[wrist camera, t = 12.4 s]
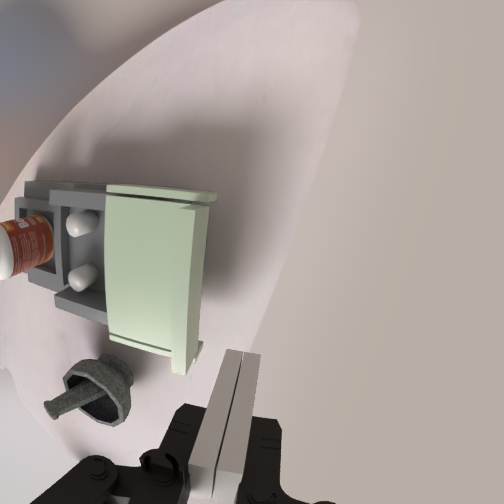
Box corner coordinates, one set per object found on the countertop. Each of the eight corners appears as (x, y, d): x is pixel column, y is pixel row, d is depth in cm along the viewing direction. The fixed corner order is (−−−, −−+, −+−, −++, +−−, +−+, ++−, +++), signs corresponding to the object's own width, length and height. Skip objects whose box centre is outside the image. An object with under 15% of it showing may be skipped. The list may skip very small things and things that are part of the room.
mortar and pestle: (133, 347, 33) (85, 404, 21) (152, 400, 35) (119, 458, 23) (73, 341, 34) (24, 383, 22) (94, 389, 36) (57, 436, 24)
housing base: (35, 276, 32) (8, 289, 26) (32, 180, 29) (1, 183, 23) (182, 318, 31) (162, 345, 25) (191, 191, 27) (169, 194, 21)
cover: (123, 326, 27) (94, 354, 21) (124, 183, 24) (85, 186, 18) (202, 346, 27) (185, 383, 21) (217, 193, 23) (197, 196, 17)
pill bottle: (53, 210, 27) (-18, 226, 16) (61, 260, 28) (-5, 290, 18) (26, 216, 28) (-37, 233, 17) (33, 261, 29) (-26, 288, 19)
